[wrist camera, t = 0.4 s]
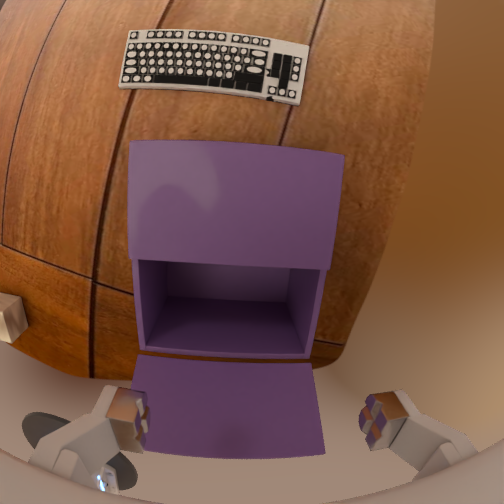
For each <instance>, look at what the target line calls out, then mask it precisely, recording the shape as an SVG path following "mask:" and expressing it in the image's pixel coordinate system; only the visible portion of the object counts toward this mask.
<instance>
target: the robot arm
mask: <svg viewBox="0 0 504 504" xmlns="http://www.w3.org/2000/svg"><path fill="white" fill-rule="evenodd" d="M147 401H148V397H147V393H146V392H143V391H137V390H132V389H127V388H122V387H116V386H111V385H106V386H105V387H104V388H103V390H102V392H101V394H100V396H99V398H98V400H97V402H96V405H95V406H94V409H93V410H92V413H91V414H89V413H87V414H85V415H83V416H81V417H80V418H78V419H76V420H74V421H72V422H70V423H69V424H67V425H65V426H63V427H61V428H59V429H57V430H56V431H54V432H52V433H50V434H48V435H46V436H44V437H42V438H40V440H39V442H38V444H37V446H36V448H35V450H34V452H33V454H32V455H31V457H30V459H29V461H28V463H27V462H25V461H23V460H21V459H19V458H17V457H15V456H13V455H11V454H9V453H7V452H6V451H4V450H2V449H0V504H162V503H155V502H149V501H145V500H139V499H135V498H130V497H125V496H121V495H119V486H118V480H117V474H116V470H115V469H114V468H113V467H111V466H109V465H107V464H106V463H107V462H108V461H109V460H110V459H111V458H113V457H114V456H115V455H116V454H117V453H118V452H120V450H124V451H130V452H136V453H143V450H144V447H145V443H146V438H145V433H147V432H148V431H149V427H150V408H149V407H148V406H147ZM365 403H366V406H365V407H364V408H363V409H362V410H361V412H360V415H359V426H360V429H361V431H362V432H364V433H365V434H367V436H366V438H365V440H366V442H367V444H368V446H369V448H370V451H373V450H379V449H384V448H389V449H390V450H392V451H393V452H394V453H395V454H397V455H398V456H399V457H401V458H402V459H403V460H405V461H406V462H407V463H409V464H410V465H411V466H413V467H414V468H415V469H417V470H418V471H419V473H418V474H417V475H416V476H415V478H413V480H412V482H409V483H406V484H403V485H400V486H397V487H393V488H390V489H386V490H383V491H379V492H376V493H372V494H368V495H364V496H359V497H355V498H350V499H345V500H341V501H335V502H329V503H323V504H504V439H502V440H500V441H499V442H497V443H495V444H494V445H492V446H490V447H488V448H486V449H485V450H483V451H481V452H479V453H478V451H477V450H476V448H475V447H474V445H473V444H472V443H471V441H470V440H469V439H468V437H467V436H466V435H465V434H464V433H462V432H460V431H458V430H455V429H453V428H451V427H449V426H447V425H445V424H443V423H441V422H439V421H437V420H435V419H433V418H431V417H429V416H427V415H425V414H420V413H419V411H418V409H417V408H416V407H415V405H414V404H413V402H412V401H411V400H410V398H409V397H408V395H407V393H406V392H405V391H404V390H402V389H401V390H396V391H391V392H383V393H377V394H370V395H369V396H368V397H367V399H366V401H365Z"/></svg>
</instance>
